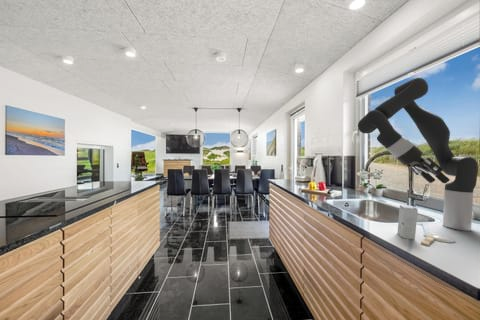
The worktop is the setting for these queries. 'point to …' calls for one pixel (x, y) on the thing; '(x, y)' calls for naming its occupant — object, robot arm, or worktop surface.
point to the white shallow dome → (440, 237)
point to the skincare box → (407, 221)
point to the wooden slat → (427, 241)
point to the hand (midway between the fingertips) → (439, 181)
